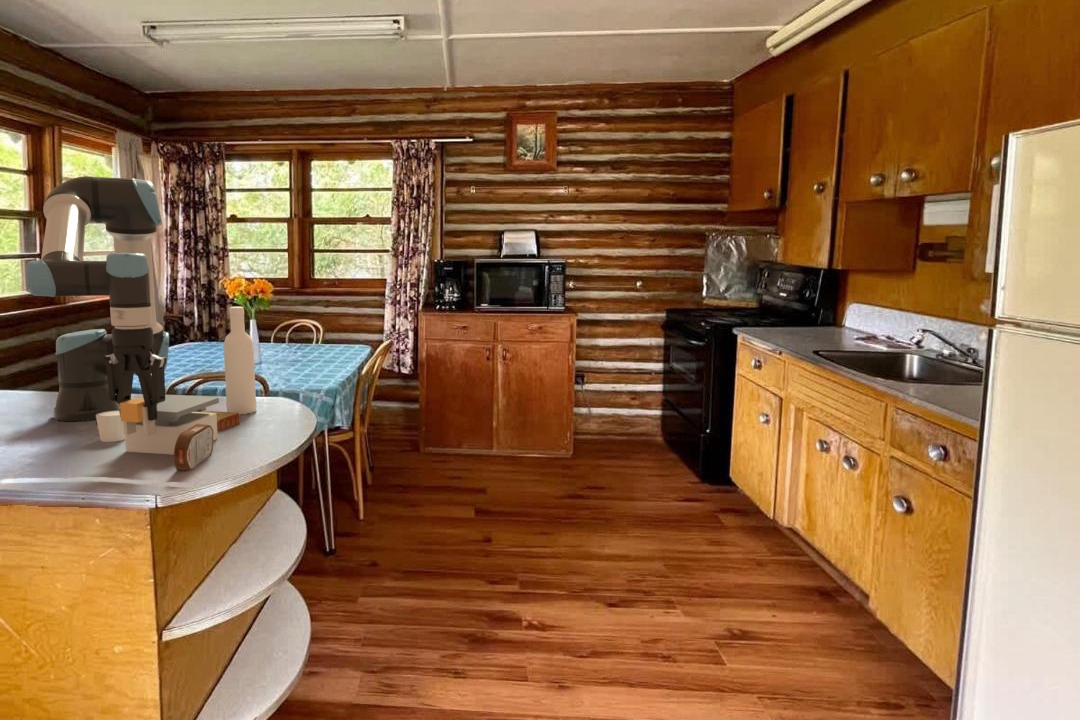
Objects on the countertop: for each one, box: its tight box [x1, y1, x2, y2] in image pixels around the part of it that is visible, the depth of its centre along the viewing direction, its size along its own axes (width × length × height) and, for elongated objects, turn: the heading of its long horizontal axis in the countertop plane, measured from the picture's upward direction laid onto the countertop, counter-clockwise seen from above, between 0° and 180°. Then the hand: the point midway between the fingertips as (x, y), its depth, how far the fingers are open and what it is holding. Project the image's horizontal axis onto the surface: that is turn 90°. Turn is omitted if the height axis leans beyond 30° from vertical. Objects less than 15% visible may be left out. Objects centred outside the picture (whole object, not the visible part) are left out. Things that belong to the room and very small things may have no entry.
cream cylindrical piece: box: [95, 411, 125, 443], centre depth 163 cm, size 7×7×7 cm
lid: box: [119, 394, 220, 422], centre depth 155 cm, size 14×20×6 cm
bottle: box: [223, 306, 257, 415], centre depth 194 cm, size 8×8×30 cm
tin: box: [173, 424, 214, 471], centre depth 146 cm, size 15×3×8 cm, turn 5°
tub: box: [124, 412, 219, 456], centre depth 159 cm, size 13×14×7 cm
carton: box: [194, 410, 241, 432], centre depth 177 cm, size 8×16×4 cm, turn 77°
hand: (140, 433), depth 149 cm, fingers closed on lid, 4 cm apart
